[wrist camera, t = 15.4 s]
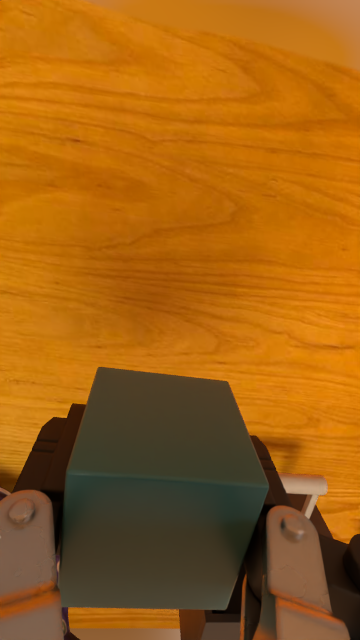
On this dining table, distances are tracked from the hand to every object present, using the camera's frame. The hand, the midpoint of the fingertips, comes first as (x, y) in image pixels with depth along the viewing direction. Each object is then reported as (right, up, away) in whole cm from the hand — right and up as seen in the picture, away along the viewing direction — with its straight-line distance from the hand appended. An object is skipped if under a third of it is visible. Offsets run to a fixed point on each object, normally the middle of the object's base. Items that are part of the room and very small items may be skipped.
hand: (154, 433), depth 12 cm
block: (0, 0, 0) cm, 0 cm away
